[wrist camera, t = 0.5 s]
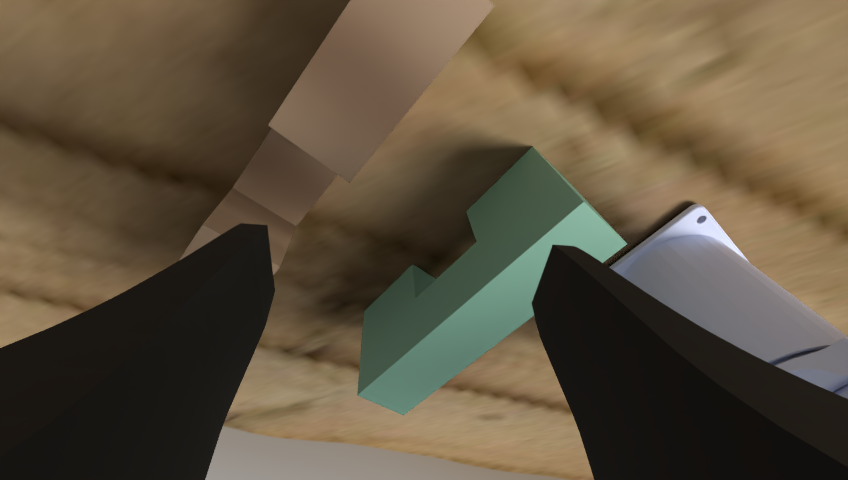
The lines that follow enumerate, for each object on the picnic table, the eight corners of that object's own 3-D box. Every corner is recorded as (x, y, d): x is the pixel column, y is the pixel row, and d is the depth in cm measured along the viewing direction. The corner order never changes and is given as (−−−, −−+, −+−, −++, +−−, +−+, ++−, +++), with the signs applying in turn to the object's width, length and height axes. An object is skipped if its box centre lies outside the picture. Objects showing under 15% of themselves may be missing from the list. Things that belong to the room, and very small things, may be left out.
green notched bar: (532, 146, 19) (583, 201, 14) (568, 181, 20) (627, 244, 15) (364, 311, 24) (357, 395, 19) (400, 331, 25) (403, 415, 20)
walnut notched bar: (403, -62, 14) (410, -92, 9) (460, 1, 15) (494, 5, 10) (193, 251, 21) (130, 333, 16) (244, 278, 22) (201, 362, 17)
